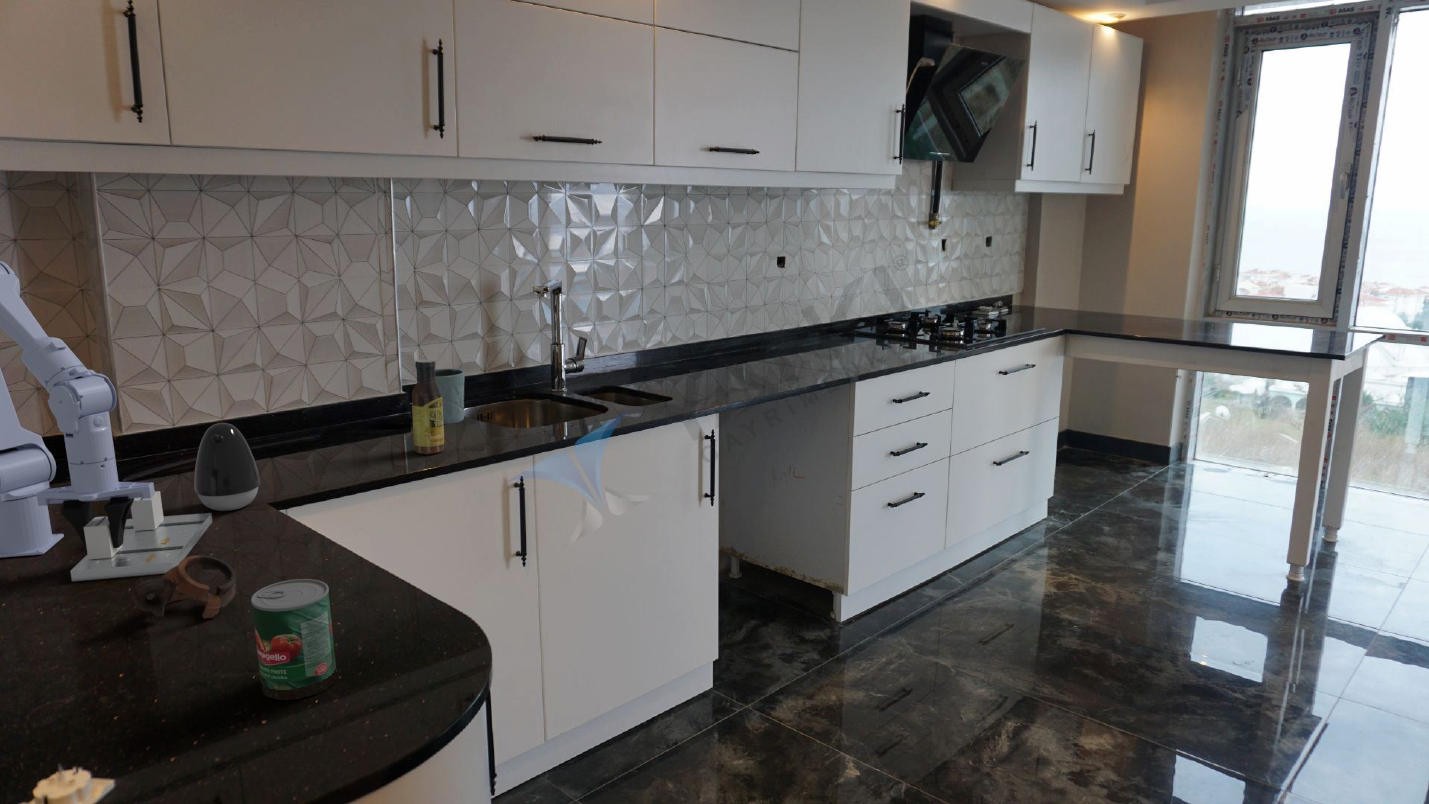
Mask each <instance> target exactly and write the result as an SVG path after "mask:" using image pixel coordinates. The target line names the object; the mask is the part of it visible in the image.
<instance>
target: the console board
mask: <svg viewBox="0 0 1429 804" xmlns="http://www.w3.org/2000/svg"><path fill="white" fill-rule="evenodd" d="M163 518H164V521H163V522H162V523H161V524H160V525H159V526H158V527H157V528H156V529H154V530H141V531H134V526H133V519H132V518H127V520H126V524H125V530H124V538H123V544H122V548H121V549H120V550H119V551H118V552H117V553H116V554H115V555H114V556H113V557H112V558H102V559H90V560H89V559H88V553H87V554H86V555H85V556H84V557H83V558H82V559H81V560H79V562H78V563H77V564H76V565H75V566H74V567H73V568H72V569H71V570H70V577H71V578H70V579H71V582H79V581H81V582H83V581H92V580H103V579H104V580H105V579H114V578H115V579H116V578H127V577H139V576H140V577H141V576H149V575H160V574H162V575H164V574H165V573H166V572H167V571H169V570H170V569H171V568H173V567H175V566H177V565H179V563H180V562H181V561H182V560H183V559H185V558H187V557H188V555H189V553H190V551H191V550H192V549H193V548H194V547H195V546H196V544H197V543H198V541H199V540H200V539H201V537H202V536H203V535H204V533H205V532H206V531H207V530H208V529H209V527H210V526H211V525H212V523H213V516H212V512H208V513H207V512H206V513H193V514H192V513H191V514H180V515H167V516H164V515H163Z"/></svg>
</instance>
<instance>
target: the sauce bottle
mask: <svg viewBox="0 0 1429 804" xmlns="http://www.w3.org/2000/svg"><path fill="white" fill-rule="evenodd" d="M415 369H416V384H415V386H414V388H413V389H412V393H411V398H412V399H411V400H412V404H411V410H412V411H411V412H412V428H413V429H412V430H413V431H412V433H413V444H414V450H415V453H417V454H419V455H433V454H438V453H442V452H443V450H444V449H445V448H444V445H445V430H444V429H445V427H444V424H443V405H442V395H441V393H440V390H439V388H438V385H437V383H436V378H435V369H436V361H435V360H434V359H418V360H415Z"/></svg>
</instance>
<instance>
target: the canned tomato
mask: <svg viewBox="0 0 1429 804" xmlns="http://www.w3.org/2000/svg"><path fill="white" fill-rule="evenodd" d="M329 589H330V588H329V585H328V584H327V583H325V582H324V581H321V580H318V579H311V578H300V579H299V578H296V579H288V580H283V581H278V582H275V583H272V584H269V585H267V586H265V587H262V588H260V589H259V590H257V591H256V592H254V593H253V594H252V596H251V598H250V603H251V607H252V618H253V625H254V634H255V635H254V636H255V644H256V653H257V659H258V660H257V662H258V669H259V678H260V684H261V683H262V684H263V686H264V687H268V688H270V689H275V690H292V689H293V690H294V689H298V688H301V687H307V686H309V685H312V684H315V683H317V682H321V681H323V680H324V679H327V678H328V677H329V676H331V675H332V673H334V671H335V669H336V670H337V666H336V653H335V645H334V644H335V642H334V634H333V626H332V625H333V621H332V614H331V602H330V594H329V592H330V590H329Z"/></svg>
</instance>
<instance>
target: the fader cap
mask: <svg viewBox="0 0 1429 804" xmlns="http://www.w3.org/2000/svg"><path fill="white" fill-rule="evenodd" d="M84 533H85V540H86V546H87V550H86V551H87V552H86V553H87V554H88V559H89V560H90V559H102V558H112V557H113V556H114V555H115V554H116V553H117V552H118V551H119V550H120V549H121V548H122V545H121V546H120V547H119V548H113V544H112V538H111V529H110V524H109V521H108V517H107V515H106V516H105V515H104V516H96V517H94V518H93V520H91V521H90V522H89V523H88V524H87V525H86V526H85V527H84Z"/></svg>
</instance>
